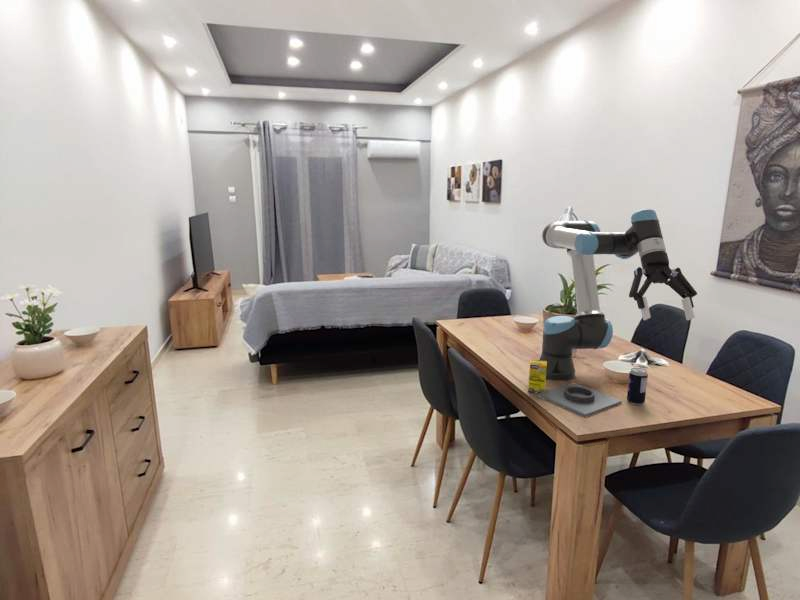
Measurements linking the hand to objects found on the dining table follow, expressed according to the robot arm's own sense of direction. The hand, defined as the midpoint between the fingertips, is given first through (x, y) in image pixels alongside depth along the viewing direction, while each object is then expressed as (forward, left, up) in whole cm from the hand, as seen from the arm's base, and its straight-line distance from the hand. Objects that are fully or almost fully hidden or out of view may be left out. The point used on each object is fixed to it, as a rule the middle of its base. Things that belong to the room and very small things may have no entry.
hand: (668, 318), depth 140 cm
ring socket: (-26, -3, -35) cm, 43 cm away
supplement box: (-40, -9, -35) cm, 54 cm away
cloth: (-39, +56, -36) cm, 77 cm away
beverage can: (-14, +12, -35) cm, 40 cm away
